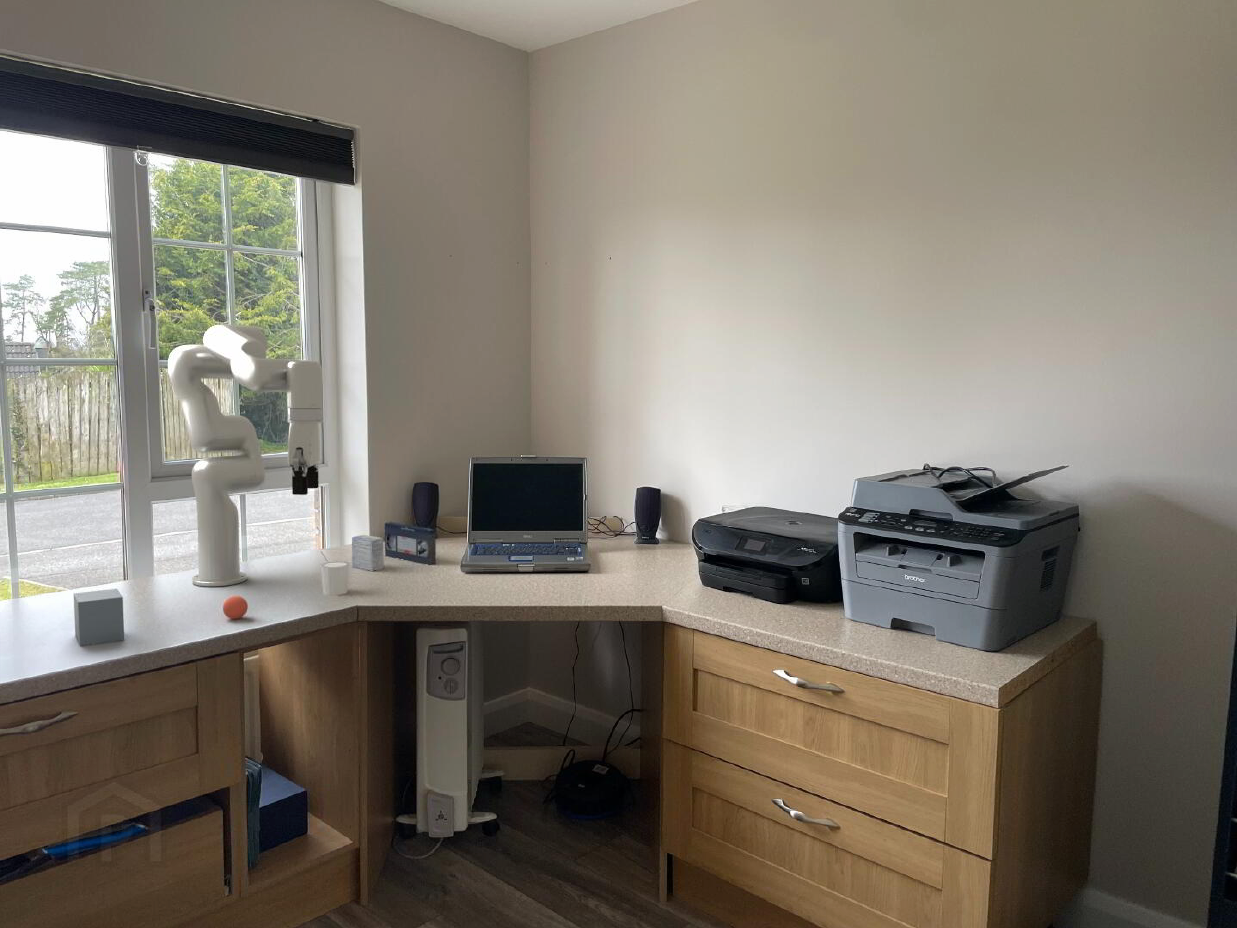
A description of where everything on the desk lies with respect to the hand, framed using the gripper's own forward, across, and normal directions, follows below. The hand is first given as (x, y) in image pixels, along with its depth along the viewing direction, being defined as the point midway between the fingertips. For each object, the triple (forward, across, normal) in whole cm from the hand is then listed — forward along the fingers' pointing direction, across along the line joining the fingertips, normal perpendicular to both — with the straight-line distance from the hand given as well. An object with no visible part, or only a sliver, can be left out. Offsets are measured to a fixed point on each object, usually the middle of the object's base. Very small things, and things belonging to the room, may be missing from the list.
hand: (305, 491), depth 204 cm
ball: (+24, +9, -13) cm, 29 cm away
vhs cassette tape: (+27, -50, +16) cm, 59 cm away
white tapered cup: (+27, -14, +3) cm, 31 cm away
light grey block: (+27, -39, +6) cm, 48 cm away
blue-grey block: (+27, +23, -35) cm, 50 cm away
